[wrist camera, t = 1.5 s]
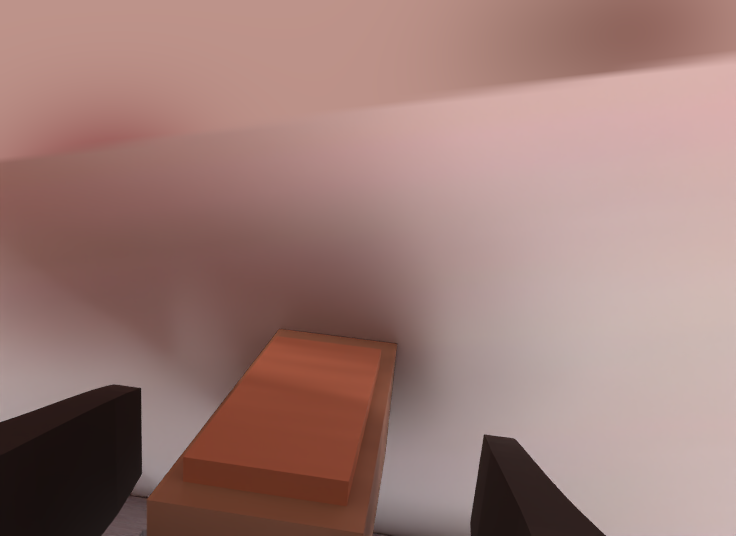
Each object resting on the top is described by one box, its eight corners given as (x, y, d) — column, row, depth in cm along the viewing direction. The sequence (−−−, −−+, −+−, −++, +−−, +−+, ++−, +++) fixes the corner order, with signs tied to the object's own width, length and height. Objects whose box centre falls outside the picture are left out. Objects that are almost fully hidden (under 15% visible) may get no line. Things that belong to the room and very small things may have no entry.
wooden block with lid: (385, 451, 15) (345, 710, 8) (273, 435, 15) (147, 674, 9) (398, 328, 14) (366, 507, 8) (280, 314, 15) (145, 473, 8)
